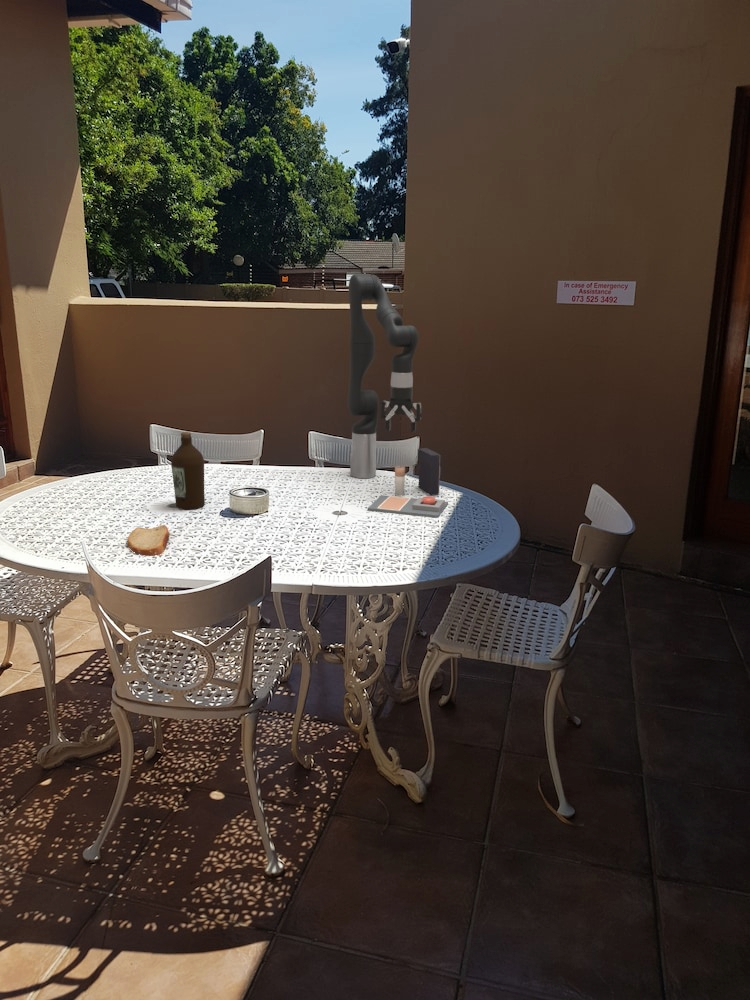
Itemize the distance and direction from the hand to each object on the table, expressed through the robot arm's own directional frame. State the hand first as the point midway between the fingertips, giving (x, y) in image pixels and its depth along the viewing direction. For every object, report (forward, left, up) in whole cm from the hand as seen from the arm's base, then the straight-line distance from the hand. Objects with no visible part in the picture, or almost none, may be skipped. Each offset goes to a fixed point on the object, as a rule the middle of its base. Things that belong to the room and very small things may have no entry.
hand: (400, 431), depth 261 cm
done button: (+14, -14, -21) cm, 29 cm away
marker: (0, 0, -23) cm, 23 cm away
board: (+7, -14, -23) cm, 28 cm away
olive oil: (-63, -37, -23) cm, 77 cm away
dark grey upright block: (+9, +7, -23) cm, 26 cm away
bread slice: (-55, -72, -24) cm, 93 cm away
